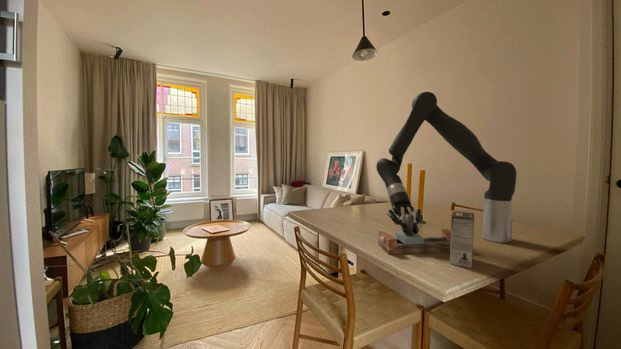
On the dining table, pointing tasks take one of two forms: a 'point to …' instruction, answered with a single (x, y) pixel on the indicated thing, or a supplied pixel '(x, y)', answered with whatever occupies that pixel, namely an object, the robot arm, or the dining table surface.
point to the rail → (428, 246)
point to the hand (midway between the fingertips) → (411, 233)
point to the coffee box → (462, 239)
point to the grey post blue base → (411, 237)
